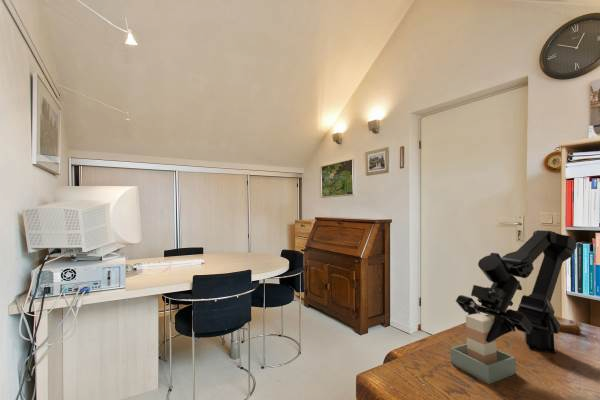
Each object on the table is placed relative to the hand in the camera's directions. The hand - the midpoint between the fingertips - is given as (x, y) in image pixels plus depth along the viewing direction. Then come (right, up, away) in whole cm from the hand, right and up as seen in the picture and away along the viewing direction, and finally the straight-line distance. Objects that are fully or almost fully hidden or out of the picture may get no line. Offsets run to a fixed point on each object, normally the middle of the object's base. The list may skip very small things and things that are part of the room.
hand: (477, 337), depth 80 cm
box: (+1, -9, 0) cm, 9 cm away
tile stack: (+1, -7, 0) cm, 7 cm away
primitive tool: (+40, -10, +26) cm, 49 cm away
